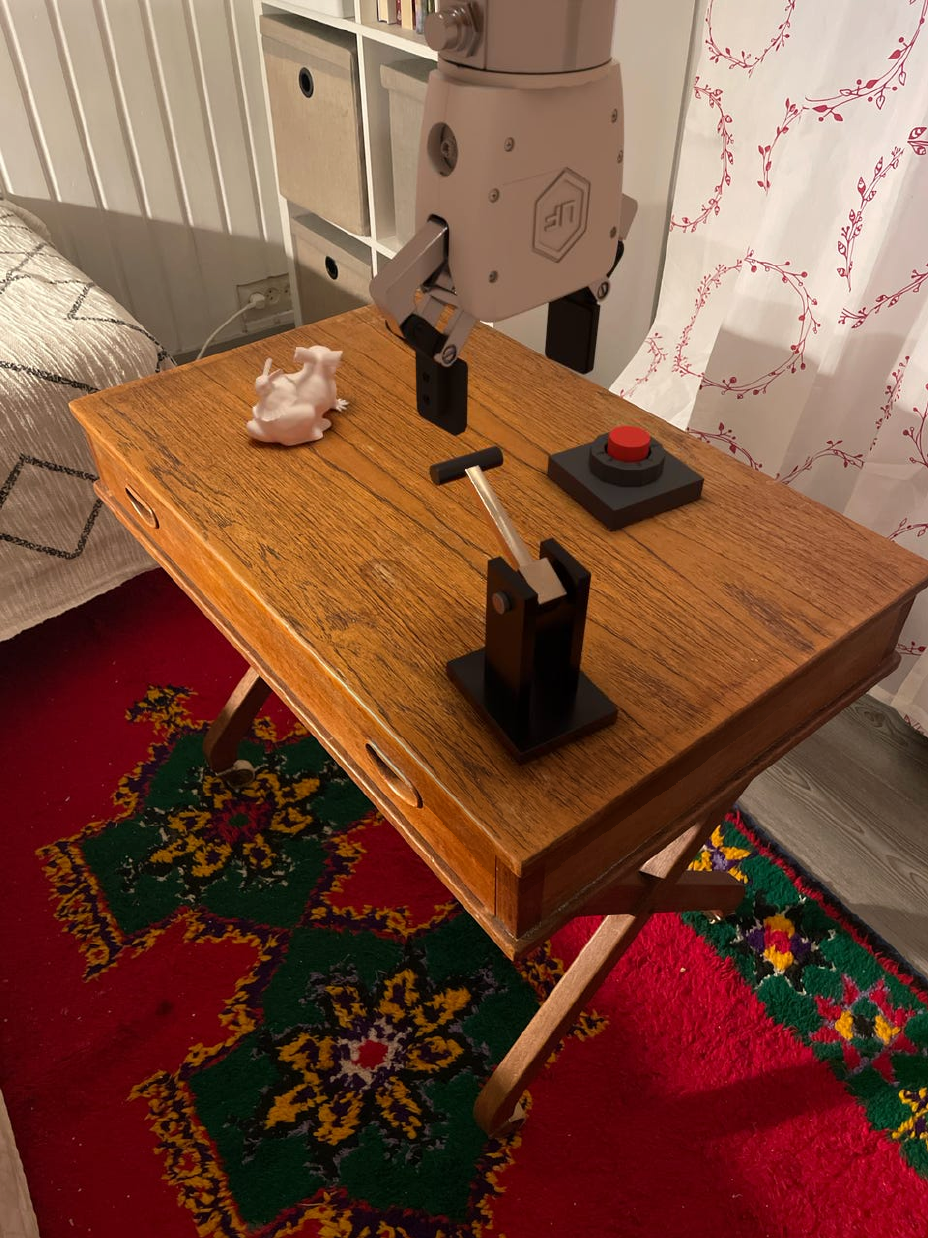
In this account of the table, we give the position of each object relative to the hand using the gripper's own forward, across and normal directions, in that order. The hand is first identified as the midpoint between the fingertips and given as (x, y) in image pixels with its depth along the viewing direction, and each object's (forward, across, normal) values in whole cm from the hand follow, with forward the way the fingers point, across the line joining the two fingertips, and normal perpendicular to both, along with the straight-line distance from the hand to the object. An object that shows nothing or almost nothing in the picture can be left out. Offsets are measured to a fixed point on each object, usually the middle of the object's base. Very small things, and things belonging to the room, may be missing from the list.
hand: (508, 393), depth 52 cm
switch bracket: (+24, +2, -2) cm, 24 cm away
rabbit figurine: (+24, +12, +38) cm, 47 cm away
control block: (+24, +28, +11) cm, 38 cm away
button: (+21, +28, +11) cm, 36 cm away
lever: (+13, +3, +3) cm, 14 cm away
